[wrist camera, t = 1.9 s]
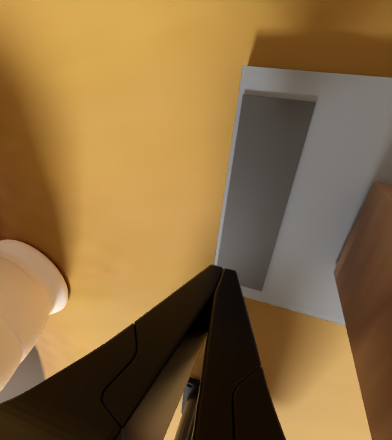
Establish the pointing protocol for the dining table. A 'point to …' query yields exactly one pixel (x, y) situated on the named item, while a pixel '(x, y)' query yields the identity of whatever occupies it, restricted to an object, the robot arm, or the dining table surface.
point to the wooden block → (370, 305)
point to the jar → (25, 301)
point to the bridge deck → (301, 181)
